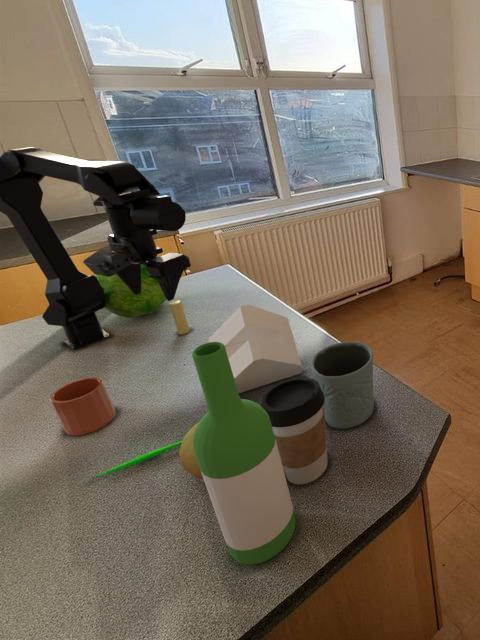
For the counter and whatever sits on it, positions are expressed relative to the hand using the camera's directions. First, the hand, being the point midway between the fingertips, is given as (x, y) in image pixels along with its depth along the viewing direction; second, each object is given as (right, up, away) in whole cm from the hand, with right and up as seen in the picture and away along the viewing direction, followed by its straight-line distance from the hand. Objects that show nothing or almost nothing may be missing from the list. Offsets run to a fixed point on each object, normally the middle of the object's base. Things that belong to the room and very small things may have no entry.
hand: (154, 297), depth 91 cm
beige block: (+26, -17, -5) cm, 31 cm away
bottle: (+43, -29, -34) cm, 63 cm away
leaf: (+18, -24, -23) cm, 37 cm away
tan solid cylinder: (-2, -9, +11) cm, 15 cm away
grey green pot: (+47, -20, -12) cm, 52 cm away
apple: (+31, -24, -23) cm, 46 cm away
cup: (+2, -20, -16) cm, 26 cm away
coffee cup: (+44, -25, -24) cm, 56 cm away
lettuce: (-20, -5, +21) cm, 29 cm away
